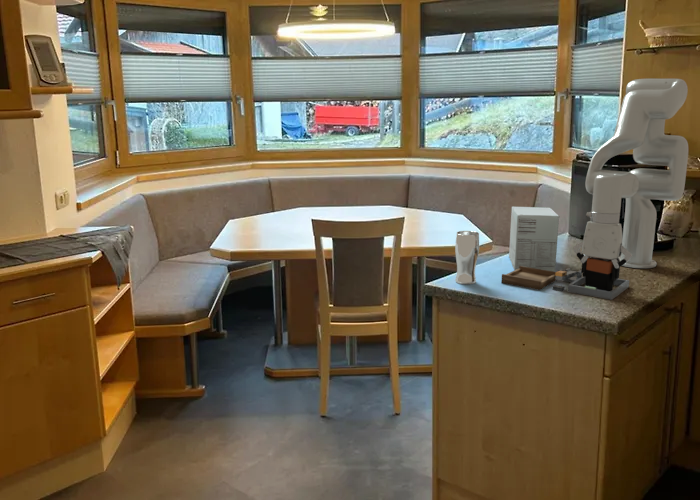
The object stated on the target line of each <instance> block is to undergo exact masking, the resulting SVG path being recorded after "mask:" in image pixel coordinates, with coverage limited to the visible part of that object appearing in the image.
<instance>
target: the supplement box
mask: <svg viewBox="0 0 700 500" xmlns="http://www.w3.org/2000/svg"><path fill="white" fill-rule="evenodd" d="M510 214H511V215H510V216H511V217H510V231H509V232H510V234H509V249H508V250H509V251H508V252H509V253H508V255H509V256H508V259H509V261H510V263H511V265H512V267H513V271H514V270H516V269H519V266H524V267H530V268H536V269H541V270H547V271H553V272H556V264H557V251H558V250H557V248H558V236H559V224H560V215H558V213H557V212H555V211H554V210H553V209H552V208H551V207H536V206H535V207H534V206H511V213H510Z"/></svg>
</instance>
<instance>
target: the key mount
mask: <svg viewBox="0 0 700 500" xmlns="http://www.w3.org/2000/svg"><path fill="white" fill-rule="evenodd" d="M564 271H566V272H567V271H572V268H569V267H568V268H566V269H565V270H564ZM576 272H577V276H574V277H571V278H568V279H565V280H562V281H563V282H567V283H572V282H574V281H575V280H577V279H579V278H580V277H582V275H583V273H581V269H579V270H578V271H576ZM565 289H566V286H562V285H559V284H555V285H553V286H552V290H554V291H559V292H563V291H565Z"/></svg>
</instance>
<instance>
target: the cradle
mask: <svg viewBox="0 0 700 500" xmlns="http://www.w3.org/2000/svg"><path fill="white" fill-rule="evenodd" d="M585 277H586V276H585ZM585 277H583V276H582V277H580V278H579V279H577V280H575V281H574V282H569V284H568V285H567V293H573V294H578V295H583V296H589V297H594V298H599V299H606V300H610V301H612V300H614V299H615V298H616V297H618V296H619V295H620V294H622V293H623V292H624V291H626V290H627V289H628V288H629V287H630V279H624V278H623V279H622V278H618V279H617V280H616V281H614V283H613V286H616V287H615V288H613V290H611V291H604V290H599V289H596V288H594V287H589V286H585ZM582 285H584V286H582Z"/></svg>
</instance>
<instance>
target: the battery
mask: <svg viewBox="0 0 700 500" xmlns="http://www.w3.org/2000/svg"><path fill="white" fill-rule="evenodd" d="M613 268H614V265H613V262H612V260H607V259H600V258H594V257H590V258H588V259H587V266H586V277H585V283H584V287H585V286H589V287H594V288H596V289H599V290H604V291H610V292H611V291H613V290H614V285H613V283H614V282H612V281H611V278H612V269H613Z"/></svg>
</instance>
